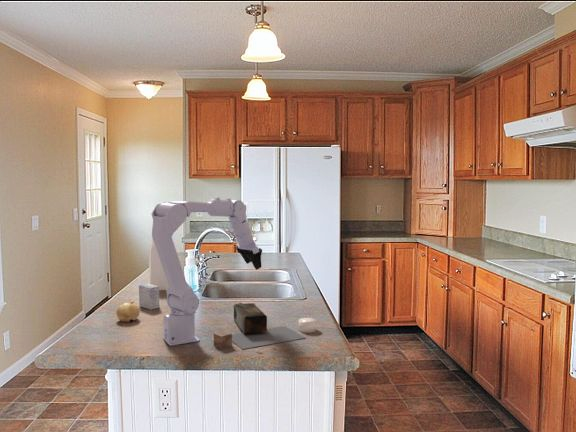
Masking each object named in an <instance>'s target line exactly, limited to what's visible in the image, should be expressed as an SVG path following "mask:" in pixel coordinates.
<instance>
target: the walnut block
mask: <svg viewBox="0 0 576 432" xmlns="http://www.w3.org/2000/svg"><path fill="white" fill-rule="evenodd" d="M232 335H233V333H231V332H229V331H225V330H222V331H217V332H214V333H213V347H215V348H218V349H219V350H224V349H226V348H230V347H233V342H232Z"/></svg>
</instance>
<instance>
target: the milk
mask: <svg viewBox="0 0 576 432" xmlns="http://www.w3.org/2000/svg"><path fill="white" fill-rule="evenodd" d="M148 257H149V259H148V260H149V261H148V265H149V266H148V284H152V285H155V286H158V287H159V291H163V290H164V291H166V290H167V289H168V287H169V285H168V282H167V279H166V276H165V273H164V270H163V267H162V264H161V261H160V258H159V255H158V252H157V249H156V247H155V244H154V241H153V238H152V237H151V241H150V244H149V256H148Z"/></svg>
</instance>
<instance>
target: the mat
mask: <svg viewBox="0 0 576 432" xmlns="http://www.w3.org/2000/svg"><path fill="white" fill-rule="evenodd" d="M303 339H306V337H305V336H303V335H302V334H300V333H298V332H296V331H294V330H292V329H291V328H289V327H287V326H286V325H283V326H277V327H270V328H267V332H266V333H261V334H247V335H245V334H244V333H243V332H241V333H240V332H239V333H232V344H235V345H236V346H237V347H239V348H240V349H241V350H247V349H248V350H249V349H253V348H260V347H264V346H270V345H275V344H276V345H277V344H282V343H287V342H292V341H297V340H303Z"/></svg>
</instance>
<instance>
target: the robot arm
mask: <svg viewBox="0 0 576 432" xmlns="http://www.w3.org/2000/svg"><path fill="white" fill-rule="evenodd" d="M192 213H207V214H208V215H209V216H210V217H224V218H225V217H228V220H229V222H230V223H229V224H230V225H231V229H232V231H233V234H234V237H235V242H236V244H237V246H235V247H234V249H235V250H236V251H237V252H238V253H239V254H240V256H241V257H242V259H243V260H244V262H245V264H250V263H252V266H253V268H254V269H255V270H256V271H258V270H259V269H261V268H262V254H263V249H262V248H260V247H258V245H257V244H256V242H257V241H258V239H257V238H256V237H254V236H253V233H252V230H251V228H250V224H249V222H248V219H247V205H246V204H244V202H243V201H242V200H239V199H238V200H237V199H231V198H229V197H226V198H225V199H223V198H220V197H219V196H218V197H216V196H215V197H213V198H210V199H209V200H208V202H202V201H201V202H200V201H189V200H188V201H187V200H176V201H175V200H174V201H168V202H163V201H162V202H159V203H158V204H157V203H156V205H155V206H154V209H153V211H152V212H151V218H152V230H151V239H152V238H153V241H154V244H155V247H156V249H157V252H158V255H159V258H160V261H161V264H162V267H163V270H164V273H165V276H166V279H167V282H168V285H169V287H168V289H167V290H165V293H166V303H167V306H168V307H169V308H170V313H168V314H165V315H164V316H163V338H162V339H163V340H164V341H165V342H166V344H168V345H169V346H179V345H183V344H189V343H196V342H200V339H199V338H198V337H197V336H196V326H195V325H196V322H195V319H196V318H195V317H196V315H195V314H196V313H197V310H198V309H199V306H200V299H199V296H198V295H197V294H196V293H195V292H194V289H193V288H192V286H190V284H189V283H188V282H187V279H186V278H185V277H186V276H185V273H184V270H183V268H182V265H181V262H180V258H179V255H178V252H177V249H176V245H175V243H174V239H173V235H174V233H175V232H176V231H177V230H178V229H179V228H180V227H181V226H182V225H183V224H184V223H185V221H186V220H187V218H189V217H190V216H191V214H192Z"/></svg>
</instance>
